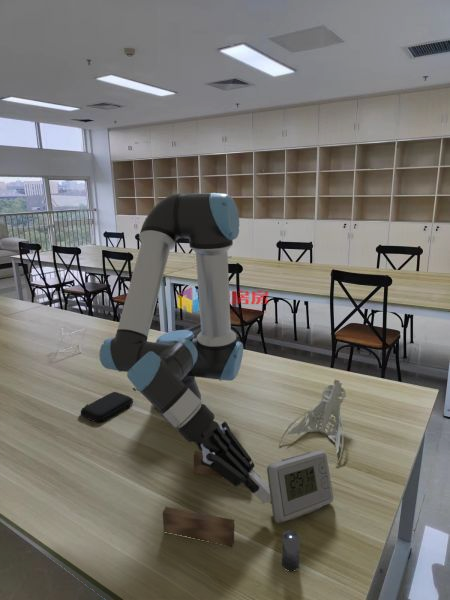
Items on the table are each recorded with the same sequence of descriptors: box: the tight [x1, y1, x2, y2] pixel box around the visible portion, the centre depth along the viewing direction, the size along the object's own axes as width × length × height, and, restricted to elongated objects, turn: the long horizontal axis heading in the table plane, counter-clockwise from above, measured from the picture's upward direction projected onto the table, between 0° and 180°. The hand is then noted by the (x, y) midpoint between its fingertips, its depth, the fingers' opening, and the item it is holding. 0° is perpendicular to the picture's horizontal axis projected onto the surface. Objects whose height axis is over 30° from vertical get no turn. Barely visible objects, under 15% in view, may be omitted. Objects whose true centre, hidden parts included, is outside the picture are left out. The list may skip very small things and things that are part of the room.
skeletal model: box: [278, 378, 347, 467], centre depth 113 cm, size 16×9×25 cm
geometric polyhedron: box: [56, 327, 87, 354], centre depth 175 cm, size 12×11×9 cm
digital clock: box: [266, 449, 334, 524], centre depth 86 cm, size 16×9×11 cm, turn 111°
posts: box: [281, 530, 301, 572], centre depth 84 cm, size 3×25×6 cm, turn 165°
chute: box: [162, 450, 254, 548], centre depth 89 cm, size 14×20×5 cm
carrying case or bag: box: [80, 391, 134, 424], centre depth 128 cm, size 11×3×15 cm
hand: (268, 497), depth 85 cm, fingers closed
